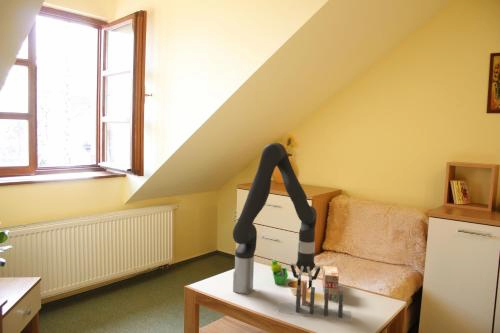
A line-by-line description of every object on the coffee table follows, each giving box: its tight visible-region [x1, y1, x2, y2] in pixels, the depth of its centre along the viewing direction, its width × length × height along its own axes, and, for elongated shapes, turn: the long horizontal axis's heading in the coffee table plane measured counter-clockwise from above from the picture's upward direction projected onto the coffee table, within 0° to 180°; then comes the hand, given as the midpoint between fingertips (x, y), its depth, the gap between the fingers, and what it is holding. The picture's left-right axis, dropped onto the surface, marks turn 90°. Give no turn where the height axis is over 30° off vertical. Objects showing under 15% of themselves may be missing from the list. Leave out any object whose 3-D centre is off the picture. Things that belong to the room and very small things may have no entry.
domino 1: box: [295, 285, 302, 313], centre depth 171 cm, size 2×5×10 cm, turn 168°
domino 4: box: [323, 288, 329, 316], centre depth 168 cm, size 2×5×10 cm, turn 168°
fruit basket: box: [270, 259, 289, 285], centre depth 205 cm, size 11×9×11 cm
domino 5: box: [337, 289, 344, 318], centre depth 167 cm, size 2×5×10 cm, turn 168°
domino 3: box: [309, 286, 316, 314], centre depth 170 cm, size 2×5×10 cm, turn 168°
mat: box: [277, 302, 352, 323], centre depth 170 cm, size 31×10×1 cm, turn 78°
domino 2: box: [301, 279, 308, 306], centre depth 178 cm, size 2×5×10 cm, turn 168°
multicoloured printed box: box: [322, 265, 340, 301], centre depth 193 cm, size 21×6×12 cm, turn 172°
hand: (304, 287), depth 178 cm, fingers open, 3 cm apart
